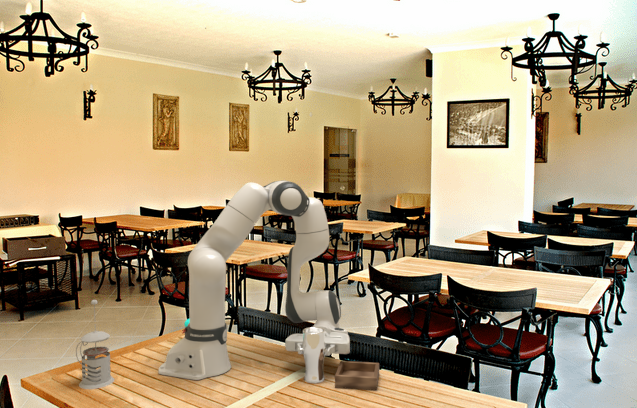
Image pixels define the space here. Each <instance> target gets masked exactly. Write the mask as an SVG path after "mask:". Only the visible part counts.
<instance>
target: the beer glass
mask: <svg viewBox="0 0 637 408" xmlns="http://www.w3.org/2000/svg"><path fill="white" fill-rule="evenodd" d="M302 334H303V341H302V345H303V354H302V355H303V359H304V364H305V365H304V366H305V371H304V379H303V380H304V382H306V383H308V384H320V383H322V382H324V381H325V380H326V379H325V374H324V373H325V372H324V362H325V356H324V351H325V349H326V340H325V330H324V329H323V328H319V327H313V326H311V327H306V328H303V329H302Z"/></svg>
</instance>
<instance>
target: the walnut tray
mask: <svg viewBox="0 0 637 408" xmlns="http://www.w3.org/2000/svg"><path fill="white" fill-rule="evenodd" d="M379 378H380V363H379V362H369V361H351V360H350V361H348V360H340V361H339V365H338V367H337V369H336V372H335V375H334V388H335V389H348V390H365V391H376V392H377V391H378V387H379V386H378V385H379Z"/></svg>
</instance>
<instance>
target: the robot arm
mask: <svg viewBox="0 0 637 408" xmlns="http://www.w3.org/2000/svg"><path fill="white" fill-rule="evenodd" d="M269 210H270V211H272V212H274V213H276V214H278V215H283V216H289V217H290V216H291V217H292V219H293V222H294V226H295V235H296V236H295V238H296V239H295V243H294V246H292V247H291V248H290V250H289V252H288V256H287V257H288V259H287V271H286V276H287V277H286V295H285V296H286V297H285V298H286V299H285V306H284V307H285V308H284V310H285V311H284V312H285V316H286V317H287V318H288V320H290V321H291V322H292V323H294V324H297V323H298V324H299V323H303V322H304V323H305V322H310V321H311V322H312V321H315V322H314V325H312V327H319V328H323V329H324V330H325V340H326V349H325V351H324V357H328V356H329V357H330V355H332V354H336V355H348V354H350V352H351V351H350V350H351V347H350V346H351V345H350V343H351V342H350V341H351V340H350V339H351V338H350V335H349V332H348V329H346V328H340V319H341V317H342V309H341V308H342V307H341V302H340V298H339V296H337V294H336V293H334V291H332V290H318V291H310V292H309V291H306V292H302V291H301V290H300V284H301V283H300V281H301V280H300V279H301V268H302V267H303V265H304V264H306V263H307V262H309V261H311V260H313V259H315V258H317V257H318V256H321V255H322V254H323V253H324V252H325V251H326V250H327V249H328V247H329V245H330V229H329V223H328V219H327V217H328V216H327V213H326V211H325V207H324V204H323V203H322V201H321V200H320V199H318V198H316V197H311V196H310V197H309V196H308V195H307V194H306V192H305V191H304V190H303V189H302V187H301V186H300V185H299V184H297V183H295V182H293V181H289V180H286V179H285V180H276V181H272V182H270V183H267V184H266V185H263V186H262V185H261V184H260V183H257V182H253V181H252V182H251V181H250V182H247V183H244V184H243V186H241V187H240V188H239V189H238V190H237V192H236V193H234V195H233V196H232V198H230V200H229V201H228V203H227V204H226V205H225V206H224V209H223V210H222V211H221V212H220V214H219V216H218V217H217V219H215V221H214V223H213V224H212V225H211V226H210V228H209V229H208V230H207V231H206V232H205V233H204V235H203V236H201V239H200V240H199V241H198V242H197V243H196V245H195V246H194V248H193V249H192V251H190V252H189V255H188V257H187V267H188V273H189V275H188V276H189V278H188V279H189V280H188V281H189V282H188V285H189V288H188V289H189V291H188V292H189V294H188V295H189V296H188V300H189V301H188V307H189V309H188V310H189V314H188V315H189V316H188V317H189V318H190V323H189V324H188V326H187V327H185V326H184V328H183V330H182V333H181V334H182V335H183V334H184V337H183V338H181V339H180V340H179V341H177V342H176V343H175V344H174V345H173V346H172V347H170V349H169V350H168V351H167V353H166V354H167V355H166V358H165V362H163V363H162V364H161V365H160V366H159V367H158V374H159V375H163V376H169V377H175V378H180V379H186V380H187V379H188V380H194V381H200V380H203V379H206V378H210V377H216V376H219V375H223V374H225V373H226V372H229V370H231V369H232V364H231V360H230V358H229V353H228V348H227V347H228V346H227V341H228V328H227V327H228V326H227V322H226V305H225V303H226V284H227V283H226V281H227V264H226V262H227V261H228V260H229V258H230V257H231V256H232V255H233V254H234V252H235V251H237V249H238V248H239V247H240V246H241V245H242V244H243V243H244V241H245V240H246V239H247V237H248V236H249V234H250V233H251V232H252V230H253V228H254V227H255V225H256V224H257V223H258V221H259V219H260V218H261V216H263V214H264V213H266V212H267V211H269ZM302 341H303V333H292V334H290V335H289V336H287V338H286V339H285V342H284V344H285V346H284V347H285V350H286V351H287V352H297V354H298V355H303V345H302Z"/></svg>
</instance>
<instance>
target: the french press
mask: <svg viewBox="0 0 637 408" xmlns="http://www.w3.org/2000/svg"><path fill="white" fill-rule="evenodd" d="M97 304H98V300H97V299H92V300H91V302H90V305H93V308H94V311H93V312H94V313H93V314H94V315H93V317H94V321H96V305H97ZM96 326H97V325H94V331H91V332H88V333H85V334H84V335H83V336H82V337H80V339H79V340H80V342H78V344H77V345H76V348H75V356H76V360H77V362H78V363H79V364H80V365H81V377H82V379H81V381H80V382H79V384H78V386H79V388H81V389H83V390H94V389H101V388H104V387H106V386H107V387H108V386H110V385H111V384H113V383H114V382H115V378H114V377H113V376H112V375H111V373H112V372H111V353H110V352H109V350H110V348H109V347H108V346H97V343H100V342H103V341H106V340H109V338H110V337H111V334H109V333H107V332H105V331H102V330H101V331H100V330H99V331H98V330H96ZM84 343H85V344H84ZM88 343H89V344H93V343H94V346H93V347H88V348H86V349H84V350H83V351H82V346H84V347H85V346H87V345H88ZM79 345H80V347H79ZM78 347H79V354H80V356H81V362H80V360H79V358H78ZM82 354H83V355H82ZM101 355H104V356H101Z"/></svg>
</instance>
